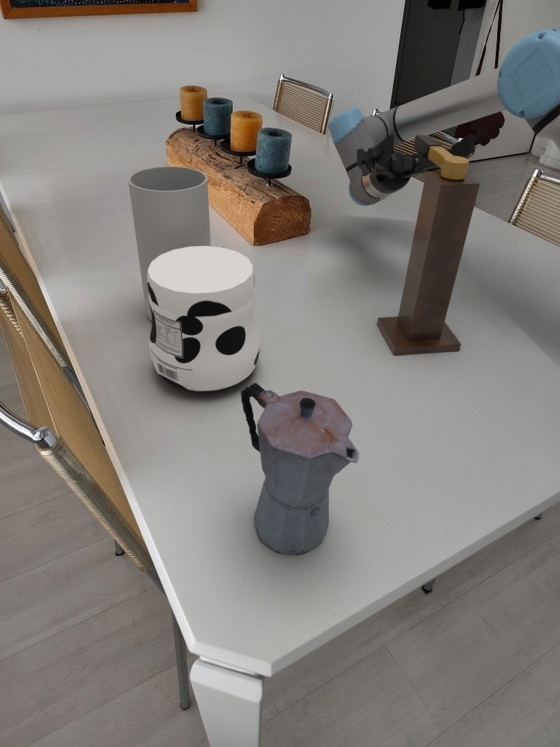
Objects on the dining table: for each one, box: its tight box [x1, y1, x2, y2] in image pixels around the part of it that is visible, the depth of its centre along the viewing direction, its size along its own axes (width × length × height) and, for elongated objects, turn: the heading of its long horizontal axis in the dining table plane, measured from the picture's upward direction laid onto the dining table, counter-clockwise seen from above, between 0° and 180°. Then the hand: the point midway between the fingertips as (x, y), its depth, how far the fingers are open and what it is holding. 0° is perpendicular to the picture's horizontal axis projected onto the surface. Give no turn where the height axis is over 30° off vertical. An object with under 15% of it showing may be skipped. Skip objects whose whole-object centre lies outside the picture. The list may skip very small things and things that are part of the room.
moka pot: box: [240, 382, 360, 556], centre depth 59 cm, size 10×15×20 cm, turn 53°
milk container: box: [147, 245, 261, 393], centre depth 83 cm, size 17×17×18 cm
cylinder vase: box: [127, 165, 212, 322], centre depth 95 cm, size 12×12×25 cm
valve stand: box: [376, 171, 481, 356], centre depth 90 cm, size 12×10×29 cm
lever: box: [413, 134, 470, 180], centre depth 85 cm, size 4×16×2 cm, turn 9°
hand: (432, 143), depth 86 cm, fingers open, 13 cm apart
